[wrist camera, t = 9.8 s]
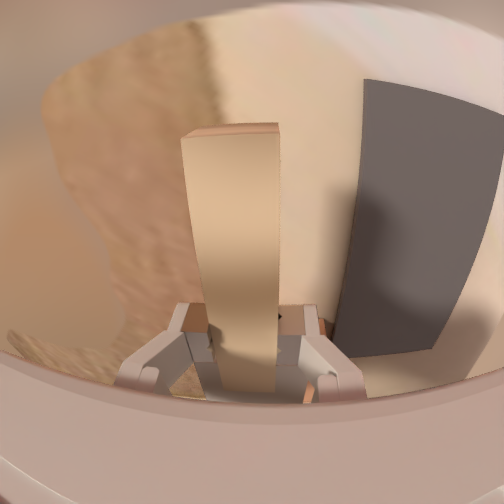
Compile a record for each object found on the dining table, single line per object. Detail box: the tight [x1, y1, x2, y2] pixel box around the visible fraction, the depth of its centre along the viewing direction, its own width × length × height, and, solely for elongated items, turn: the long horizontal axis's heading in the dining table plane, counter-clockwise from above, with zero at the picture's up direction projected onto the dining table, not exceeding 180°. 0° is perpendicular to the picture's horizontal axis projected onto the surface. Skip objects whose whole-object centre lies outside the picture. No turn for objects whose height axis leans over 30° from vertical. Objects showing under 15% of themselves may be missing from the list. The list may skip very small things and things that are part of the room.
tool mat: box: [331, 79, 504, 358], centre depth 18 cm, size 22×11×1 cm, turn 2°
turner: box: [181, 123, 308, 404], centre depth 12 cm, size 18×6×2 cm, turn 2°
